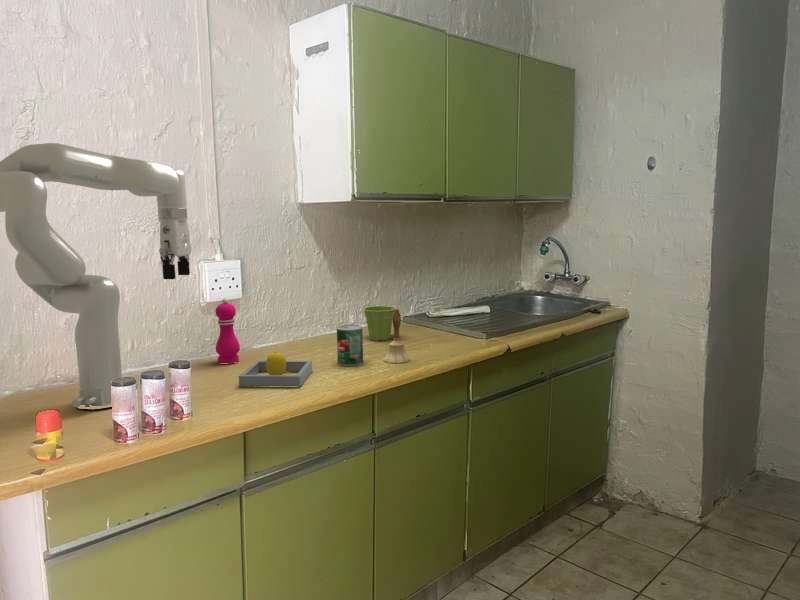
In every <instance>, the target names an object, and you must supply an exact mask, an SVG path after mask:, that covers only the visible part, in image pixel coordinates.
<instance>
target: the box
mask: <svg viewBox="0 0 800 600" xmlns="http://www.w3.org/2000/svg"><path fill="white" fill-rule="evenodd" d="M259 371H267V369H266V360H255V361H254V362H253V363H252V364H251V365H250V366H248V367H247V369H245V370H244V371H243V372H242V373H240V374H239V376H238V385H239V386H301V385H302V386H303V384H304V383H305V382H304V381H306V380H307V379H308V377H309V376H310V375H311V374H312V372H313V360H286V370H285V371H289V372H288V373H296V374H283V375H269V374H259V373H260V372H259ZM290 371H291V372H290ZM258 372H259V373H258ZM257 373H258V374H257ZM256 374H257V375H256ZM306 378H307V379H306ZM303 382H304V383H303ZM239 386H238V387H239ZM302 386H301V387H302Z"/></svg>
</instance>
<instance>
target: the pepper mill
mask: <svg viewBox="0 0 800 600" xmlns="http://www.w3.org/2000/svg"><path fill="white" fill-rule="evenodd" d="M221 302H222V303H220V304H218V305H217V306H216V308H215V315H216V317H217V318H218V319H217V325H219V329H220V330H219V336H218V339H217V341H216V343H215V352H216V353H217V354H218V355H219V356H218V357H217V362H219V363H233V362H237V361H239V362H240V356H239V355H238V353H239V352H240V350H241V346H240V342H239V340H238V339H237V336H236V334H235V331H234V324H236V321H235V316H236V314H237V309H236V307H235V305H234V304H231V303H229V299H228V298H226V297H224V298H223V299H222V301H221ZM219 363H218V364H219ZM237 363H238V362H237Z"/></svg>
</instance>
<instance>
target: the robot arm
mask: <svg viewBox="0 0 800 600" xmlns="http://www.w3.org/2000/svg"><path fill="white" fill-rule="evenodd" d="M45 182H46V183H48V182H50V183H51V182H55V183H60V184H61V183H62V184H67V185H75V186H80V187H83V188H85V187H86V188H90V189H94V190H95V189H96V190H101V191H104V190H105V191H128V192H130V194H132V195H134V196H137V197H143V198H144V197H156V201H157V217H158V222H160V223H159V244H160V245H159V246H160V248H159V249H158V251H159V255H160V260H161V265H162V276H163V277H162V278H163V280H175V279H176V278H177V277H176V267H175V266H176V265H175V264H174V261H175V258H177V275H178V276H189V275H191V273H190V272H191V271H190V254H191V253H192V246H191V245H192V244H191V236H190V229H189V224H188V207H187V206H188V205H187V193H186V192H187V191H186V177H185V173H184V171H183V170H180V169H175V168H172V167H170V166H167V165H164V164H159V163H157V162H156V163H155V162H152V161H148V160H141V159H134V158H127V157H123V156H118V155H113V154H112V155H111V154H105V153H100V152H95V151H92V150H87V149H83V148H81V147H80V148H79V147H75V146H70V145H68V144H67V145H66V144H63V143H62V144H61V143H56V142H46V143H33V144H28V145H23V146H22V147H21V148H18V149H16V150H15V151H14V152H12V153H10V154H9V155H8V156H6V157H5V158H3V159H1V160H0V213H5V216H4V217H5V218H4V222H5V225H4V226H5V234H6V238H7V240H8V242H9V243H10V245H11V246H12V247H13V249H15V250H16V252H18V253H17V254H16V257H15V261H14V266H15V270H16V273H17V275H18V277H19V279H20V280H21V281H22V282H23V283H24V284H25V285H26V286H28V287H29V288H30V289H31V290H32V291H34V293H36V294H37V295H38V296H39V297H40V298H41V299H42V300H44V301H45V302H46V303H47V304H49V305H50V306H51V307H53V308H54V309H56V310H57V311H59V312H62V313H67V314H79V316H78V319H77V321H76V324H75V329H74V342H75V349H76V350H75V351H76V361H77V371H78V380H79V389H80V390H79V393H78V394H79V396H78V397H76V398H74V399H73V400H72V401H71V405H72V407H74V408H75V407H79V406H80V405H85V407H90V406H89V405H92V406H107V405H111V381H112V380H114V379H117V378H122V379H123V369H122V358H121V357H122V356H121V347H120V337H119V310H120V302H121V301H120V300H121V293H120V290H119V287H118V286H117V284H116V283H115V282H114V281H113V280H112V279H111V278H108V277H106V276H104V275H98V274H97V275H96V274H86V272H87V271H86V264H85V261H84V259H83V258H82V256H81V255H80V254H79V253H78V252H77V251H76V250H75V249H74V248H73V247H72V246H71V245H69V243H68V242H67V241H66V240H65V239H64V238H63V237H61V235H60V234H58V232H56V230H55V229H54V228H53V227H52V226H51V224H50V223H49V220H48V218H47V204H48V189H47V187H46V186H47V185H46V184H45Z"/></svg>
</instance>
